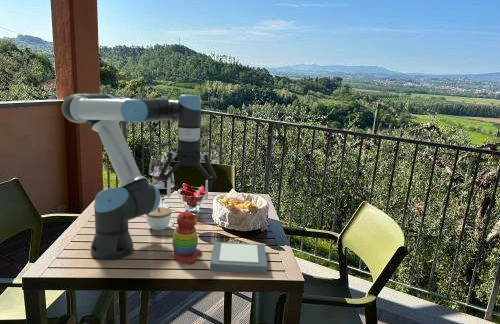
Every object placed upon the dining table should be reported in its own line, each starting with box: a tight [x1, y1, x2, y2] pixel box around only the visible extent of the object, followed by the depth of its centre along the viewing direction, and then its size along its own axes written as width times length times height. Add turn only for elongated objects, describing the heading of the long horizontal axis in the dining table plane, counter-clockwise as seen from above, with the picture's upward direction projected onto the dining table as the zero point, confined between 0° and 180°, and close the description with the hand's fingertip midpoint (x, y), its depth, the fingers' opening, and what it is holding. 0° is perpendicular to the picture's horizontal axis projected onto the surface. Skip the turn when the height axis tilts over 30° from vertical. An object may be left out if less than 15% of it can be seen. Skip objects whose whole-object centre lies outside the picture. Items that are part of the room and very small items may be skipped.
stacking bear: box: [171, 209, 203, 265], centre depth 137 cm, size 11×10×18 cm
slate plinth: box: [209, 241, 268, 275], centre depth 138 cm, size 20×18×3 cm
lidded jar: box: [145, 206, 172, 231], centre depth 163 cm, size 11×11×9 cm
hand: (187, 197), depth 134 cm, fingers open, 13 cm apart
